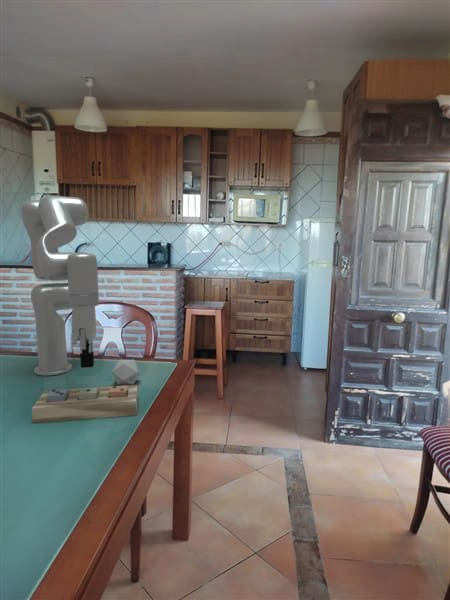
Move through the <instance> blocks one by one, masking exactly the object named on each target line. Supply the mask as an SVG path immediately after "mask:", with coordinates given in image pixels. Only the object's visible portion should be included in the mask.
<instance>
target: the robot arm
mask: <svg viewBox="0 0 450 600" xmlns="http://www.w3.org/2000/svg"><path fill="white" fill-rule="evenodd" d="M20 210H21V214H20V215H21V219H22V223H23V226H24V228H25V230H26V232H27V235H28V238H29V239H30V240H29V241H30V249H31V258H32V259H31V261H32V269H33V270H32V271H33V274H34V276H35V278H37V279H38V280H43V281H44V280H47V281H67V282H61V283H60V282H56V283H55V282H53V283H43V284H42V283H41V284H38V285H36V286H34V287H33V288H32V289H31V292H30V298H31V299H30V301H31V305H32V309H33V313H34V319H35V331H36V332H35V333H36V345H37V346H36V347H37V348H36V349H37V360H38V361H37V362H38V365H37V366H36V367H35V368H34V369H33V372H34V374H35V375H38V376H42V377H43V376H57V375H62V374H65V373H68V372H70V371H71V370H72V369H73V364H72V363H70V362H68V354H67V353H68V351H67V338H66V336H67V335H66V323H65V320H64V318H63V316H61V315H60V314H59V313H58V312H57V311H61V310H69V309H70V310H71V309H72V310H71V343H72V344H73V345H74V346H75V345H76V344H78V343H79V352H80V353H79V356H80V357H79V359H80V368H82V369H84V368H94V365H95V359H94V358H95V354H94V340H95V338H96V336H97V319H96V318H97V317H96V315H97V314H96V307H97V306H99V305H100V297H99V275H98V259H97V256H96V255H95V254H93V253H87V252H71V251H70V252H69V251H68V252H60V251H59V248H61V247H63V246H66V245H68V244H70V243H72V242H73V241H75V240H74V239H76V237H77V235H78V234H77V233H78V232H77V227H79V226H82V225H84V224H85V223H86V222H87V221H88V219H89V209H88V205H87V203H86V201H84V200H83V199H82V198H80V197H74V196H63V195H47V196H44V197H43V198H41V199H40V200H37V199H35V200H33V199H32V200H27V201H25V202H23V203H22V205H21V209H20Z"/></svg>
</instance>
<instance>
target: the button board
mask: <svg viewBox="0 0 450 600" xmlns="http://www.w3.org/2000/svg"><path fill="white" fill-rule="evenodd" d="M97 387H98V386H97ZM110 388H111V386H100V387H98V398H97V399H87V400H79V392H80V390H81V388H70V389H69V388H67V389H68V398H67V400H66V401H57V402H47V395H48V394H49V393H50V391H51V390H52V389H50V390H49V389H48V390H44V391H43V392H42V393H41V395H40V396H39V398H38V399H37V401H36V402H35V403H34V405H33V406H32V407H31V418H32V419H31V421H32V424H39V423H50V422H51V423H52V422H65V421H66V422H67V421H77V420H90V419H91V420H93V419H101V418H102V419H104V418H105V419H106V418H118V417H128V416H137V413H138V412H137V410H138V401H139V397H138V396H139V395H138V394H139V393H138V388H139V387H138V384H134V385H127V397H116V398H110V396H109V392H110Z"/></svg>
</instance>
